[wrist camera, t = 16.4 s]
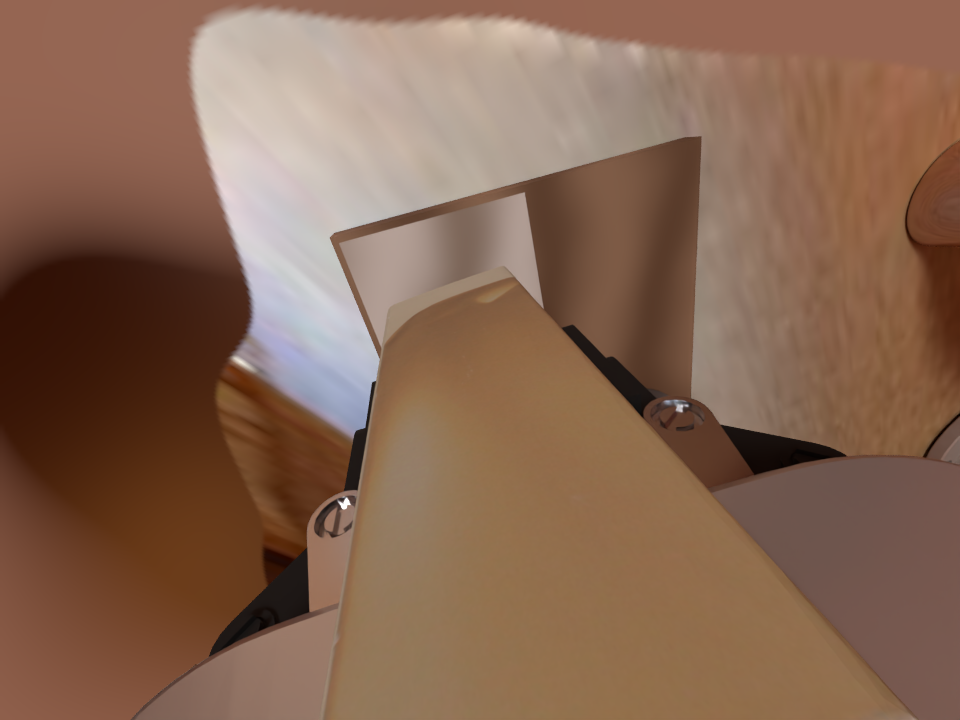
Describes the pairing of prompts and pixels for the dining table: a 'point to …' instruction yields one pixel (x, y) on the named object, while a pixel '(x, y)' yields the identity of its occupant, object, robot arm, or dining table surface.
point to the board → (561, 255)
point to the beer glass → (937, 203)
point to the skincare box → (555, 548)
